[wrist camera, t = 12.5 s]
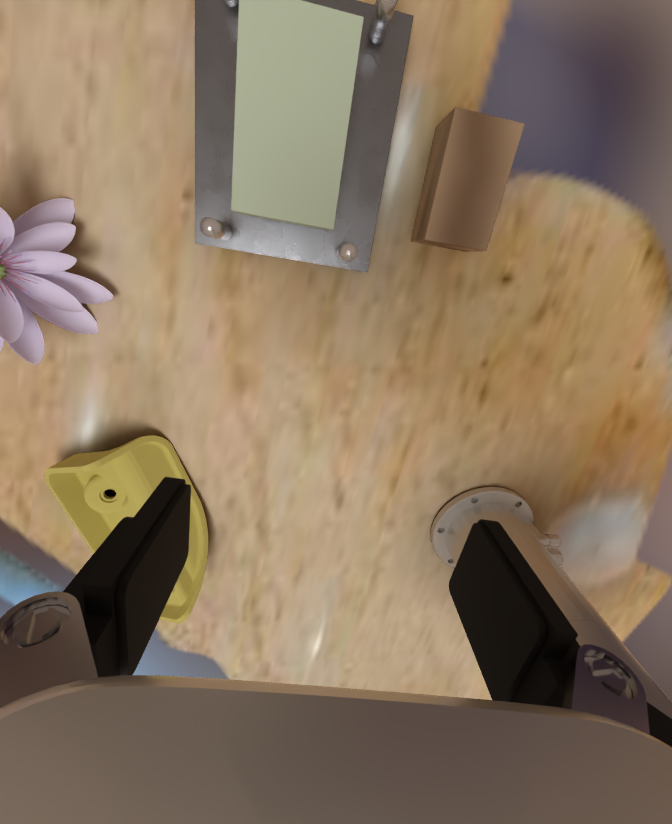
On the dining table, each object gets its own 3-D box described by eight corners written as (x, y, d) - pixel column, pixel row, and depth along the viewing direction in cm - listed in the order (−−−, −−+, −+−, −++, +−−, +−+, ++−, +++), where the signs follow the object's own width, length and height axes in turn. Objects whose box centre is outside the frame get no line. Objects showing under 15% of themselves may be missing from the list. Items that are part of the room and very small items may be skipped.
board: (359, 36, 22) (363, 16, 20) (331, 231, 26) (333, 229, 24) (245, 7, 21) (239, -17, 19) (237, 213, 25) (231, 210, 24)
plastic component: (36, 468, 34) (94, 465, 30) (105, 433, 40) (162, 426, 36) (132, 611, 41) (191, 627, 36) (179, 562, 47) (235, 570, 42)
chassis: (407, 29, 25) (435, -36, 19) (364, 271, 31) (376, 275, 25) (201, -25, 23) (167, -114, 17) (200, 243, 29) (175, 240, 24)
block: (496, 141, 28) (524, 123, 24) (465, 251, 31) (486, 250, 27) (436, 127, 27) (455, 107, 23) (410, 241, 30) (424, 239, 26)
